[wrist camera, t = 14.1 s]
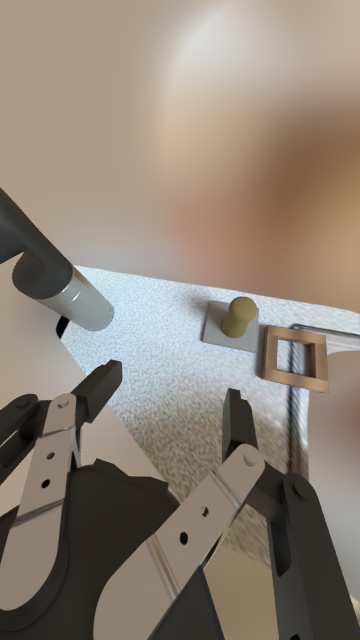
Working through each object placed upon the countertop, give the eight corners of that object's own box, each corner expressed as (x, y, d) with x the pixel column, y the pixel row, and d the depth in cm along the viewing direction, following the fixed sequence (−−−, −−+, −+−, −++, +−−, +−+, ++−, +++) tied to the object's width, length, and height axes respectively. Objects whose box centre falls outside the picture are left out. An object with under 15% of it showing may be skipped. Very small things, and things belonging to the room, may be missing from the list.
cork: (250, 322, 43) (267, 300, 33) (238, 343, 41) (252, 327, 31) (228, 310, 44) (237, 286, 34) (215, 329, 43) (221, 310, 33)
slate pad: (202, 342, 43) (202, 341, 42) (210, 302, 47) (210, 300, 46) (254, 352, 41) (255, 351, 40) (257, 310, 45) (259, 308, 44)
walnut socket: (261, 379, 39) (264, 378, 37) (265, 328, 43) (268, 325, 41) (322, 392, 37) (329, 392, 35) (319, 337, 41) (325, 335, 39)
